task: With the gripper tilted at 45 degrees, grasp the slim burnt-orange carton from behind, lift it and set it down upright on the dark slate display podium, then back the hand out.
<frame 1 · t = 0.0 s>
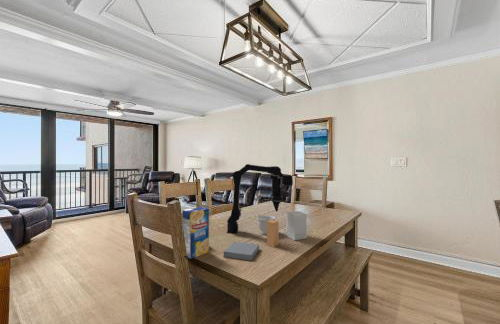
hand: (276, 209, 149), 15 cm above the table, tool pointing down, fingers open, 9 cm apart
orange carton: (272, 244, 127), on the table
teacup: (266, 232, 149), on the table
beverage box: (195, 253, 115), on the table
supplement box: (296, 237, 139), on the table
display podium: (242, 252, 116), on the table
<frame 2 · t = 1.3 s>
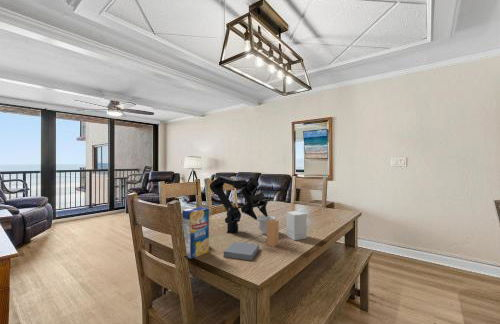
hand: (262, 218, 133), 13 cm above the table, tool tilted 45°, fingers open, 9 cm apart
nothing on the table moved.
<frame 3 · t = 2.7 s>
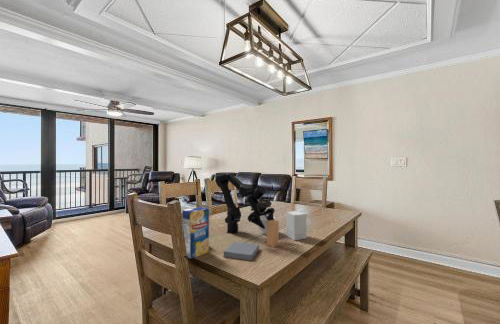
hand: (269, 226, 128), 9 cm above the table, tool tilted 45°, fingers open, 9 cm apart
nothing on the table moved.
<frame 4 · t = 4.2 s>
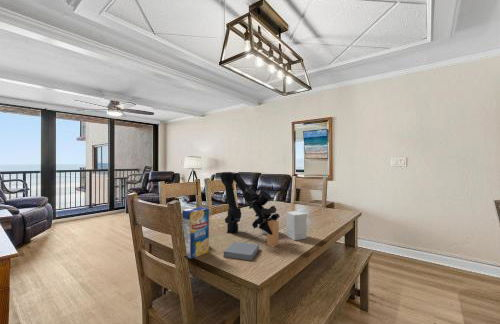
hand: (274, 233, 126), 7 cm above the table, tool tilted 45°, fingers closed on orange carton, 5 cm apart
orange carton: (272, 244, 127), on the table, touching gripper
everything else where it was.
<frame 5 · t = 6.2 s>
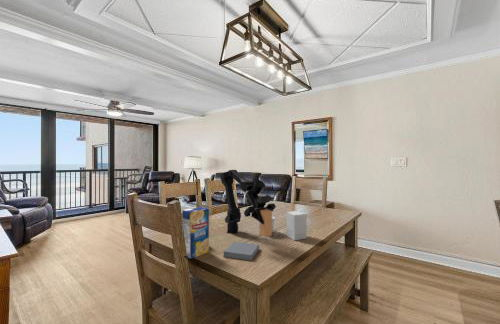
hand: (267, 223, 121), 14 cm above the table, tool tilted 45°, fingers closed on orange carton, 5 cm apart
orange carton: (265, 234, 122), point 7 cm above the table, touching gripper
everything else where it was.
when the fingers open (10 cm above the table, at t = 8.2 s): orange carton drops 1 cm, resting on display podium.
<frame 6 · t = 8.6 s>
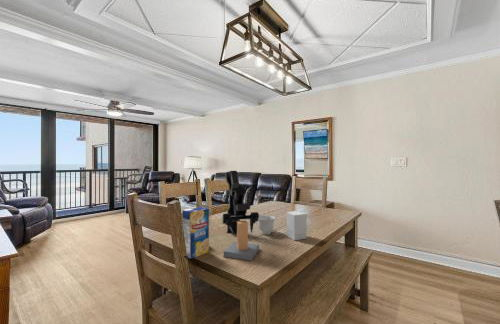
hand: (242, 232, 114), 11 cm above the table, tool tilted 45°, fingers open, 9 cm apart
orange carton: (242, 247, 116), point 3 cm above the table, touching display podium
everything else where it was.
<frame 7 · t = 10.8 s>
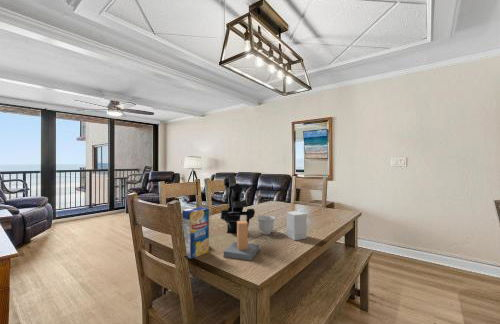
hand: (239, 227, 123), 10 cm above the table, tool tilted 45°, fingers open, 9 cm apart
nothing on the table moved.
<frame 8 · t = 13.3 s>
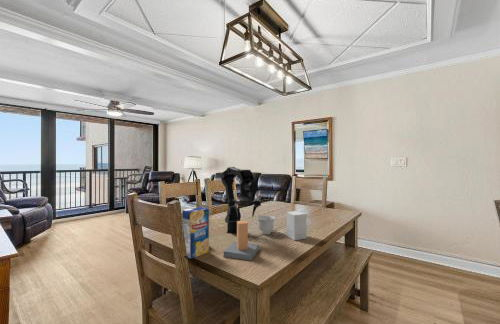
hand: (244, 217, 135), 13 cm above the table, tool pointing down, fingers open, 9 cm apart
nothing on the table moved.
at the end: orange carton inside the target area on the display podium (0.0 cm from its centre), point 2.5 cm above the display podium's base; orange carton tilted 0°; the gripper is holding nothing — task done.
